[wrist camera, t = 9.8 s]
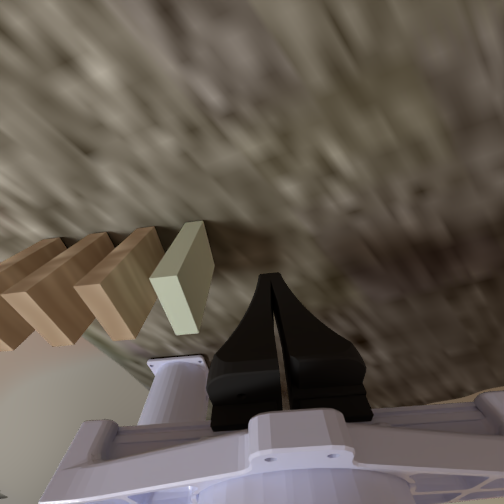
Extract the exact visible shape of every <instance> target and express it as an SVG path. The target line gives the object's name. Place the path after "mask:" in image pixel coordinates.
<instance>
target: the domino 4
mask: <svg viewBox="0 0 504 504" xmlns="http://www.w3.org/2000/svg"><path fill="white" fill-rule="evenodd" d="M214 267H215V265H214V261H213V257H212V253H211V249H210V245H209V241H208V237H207V234H206V230H205V226H204V222H203V221H195V222H186V223H185V224H184V226H183V227H182V229H181V230H180V232H179V233H178V235H177V237H176V238H175V240H174V241H173V243H172V244H171V246H170V247H169V249H168V250H167V252H166V253H165V255H164V256H163V258H162V259H161V261H160V263H159V264H158V266H157V267H156V269H155V270H154V272H153V273H152V275H151V276H150V278H149V279H150V282H151V284H152V286H153V288H154V290H155V292H156V294H157V296H158V298H159V300H160V302H161V305H162V307H163V309H164V311H165V313H166V315H167V317H168V319H169V321H170V323H171V325H172V327H173V330H174V332H175V334H176V335H183V334H194V333H199V331H200V326H201V322H202V318H203V314H204V310H205V305H206V301H207V297H208V293H209V289H210V284H211V280H212V276H213V272H214Z"/></svg>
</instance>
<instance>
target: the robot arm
mask: <svg viewBox="0 0 504 504" xmlns="http://www.w3.org/2000/svg"><path fill="white" fill-rule="evenodd" d="M273 311H274V316H275V320H276V324H277V328H278V333H279V337H280V341H281V346H282V353H283V360H284V367H285V374H286V382H287V389H288V396H289V404H290V410H284V411H283V409H282V396H281V384H280V373H279V365H278V357H277V350H276V343H275V336H274V319H273ZM147 364H148V366H149V367H150V369H151V370H152V372H153V373H154V375H155V378H154V381H153V384H152V387H151V389H150V392H149V395H148V397H147V400H146V403H145V405H144V408H143V411H142V414H141V416H140V419H139V422H138V424H137V426H123V427H119V426H118V424H117V423H116V422H114V421H113V420H108V419H103V420H89V421H84V422H83V423H82V425H81V427H80V429H79V430H78V432H77V434H76V435H75V437H74V439H73V441H72V443H71V444H70V446H69V448H68V450H67V452H66V453H65V455H64V457H63V459H62V461H61V462H60V464H59V466H58V468H57V469H56V471H55V473H54V475H53V477H52V479H51V480H50V482H49V484H48V486H47V488H46V489H45V491H44V493H43V495H42V496H41V498H40V500H39V502H38V504H441V503H452V502H461V501H470V500H478V499H489V498H500V497H504V390H503V391H490V392H484V393H481V394H479V395H478V396H477V397H476V398H475V399H474V402H464V403H449V404H435V405H421V406H406V407H392V408H378V409H371V407H370V405H369V402H368V400H367V398H366V396H365V395H366V390H365V388H364V385H363V379H364V376H365V373H366V366H365V363H364V361H363V359H362V357H361V356H360V354H359V352H358V351H357V349H356V348H355V346H354V345H353V344H352V343H351V342H350V341H348V340H346V339H345V338H343V337H342V336H340V335H338V334H337V333H335V332H334V331H332V330H331V329H330V328H328V327H327V326H326V325H325V324H323V323H322V322H321V321H320V320H318V319H317V318H316V317H315V316H314V315H313V314H311V313H310V312H309V311H308V310H307V309H306V308H305V307H304V306H303V305H302V304H301V302H300V301H299V300H298V299H297V298H296V297H295V295H294V294H293V293H292V291H291V290H290V289H289V287H288V286H287V284H286V283H285V281H284V280H283V278H282V276H281V274H280V273H279V272H277V273H267V274H260V275H259V278H258V283H257V287H256V290H255V293H254V296H253V298H252V301H251V303H250V305H249V308H248V310H247V312H246V313H245V315H244V317H243V319H242V320H241V322H240V323H239V325H238V327H237V328H236V330H235V331H234V332H233V334H232V335H231V336H230V337H229V339H228V340H227V341H226V342H225V344H224V345H223V346H222V347H221V348H220V349H219V350H218V351H217V352H216V354H215V355H214V357H213V360H212V363H211V366H210V369H209V370H208V367H207V365H206V362H205V360H204V357H203V356H202V355H195V356H183V357H172V358H161V359H150V360H148V362H147ZM209 398H210V400H211V402H212V405H213V408H212V416H211V420H208V421H206V414H207V407H208V400H209Z"/></svg>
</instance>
